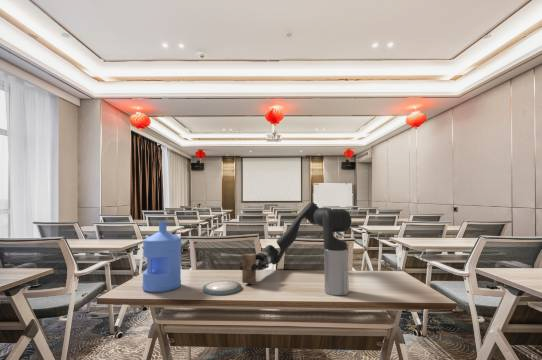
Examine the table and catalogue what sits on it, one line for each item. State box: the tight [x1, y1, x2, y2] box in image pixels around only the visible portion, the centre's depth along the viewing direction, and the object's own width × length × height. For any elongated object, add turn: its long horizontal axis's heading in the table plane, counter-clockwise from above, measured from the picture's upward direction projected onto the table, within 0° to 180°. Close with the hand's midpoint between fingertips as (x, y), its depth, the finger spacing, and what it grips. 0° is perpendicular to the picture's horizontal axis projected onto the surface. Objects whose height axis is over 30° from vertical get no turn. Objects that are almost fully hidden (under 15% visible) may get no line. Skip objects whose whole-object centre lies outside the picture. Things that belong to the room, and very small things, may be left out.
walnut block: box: [241, 252, 257, 284], centre depth 132 cm, size 4×4×12 cm
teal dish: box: [202, 280, 242, 296], centre depth 126 cm, size 16×16×1 cm
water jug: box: [141, 221, 182, 293], centre depth 129 cm, size 16×16×28 cm
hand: (246, 268), depth 130 cm, fingers closed on walnut block, 4 cm apart
